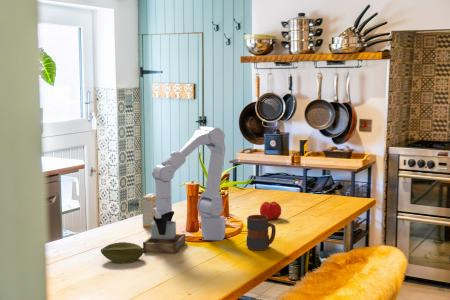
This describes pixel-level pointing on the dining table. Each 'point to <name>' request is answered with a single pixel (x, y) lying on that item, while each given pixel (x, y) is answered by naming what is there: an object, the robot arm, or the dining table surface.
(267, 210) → the tomato
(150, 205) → the supplement box
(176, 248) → the walnut crate
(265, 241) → the mug
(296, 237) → the dining table surface
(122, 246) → the fruit
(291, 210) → the dining table surface
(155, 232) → the grey crate
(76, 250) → the dining table surface
